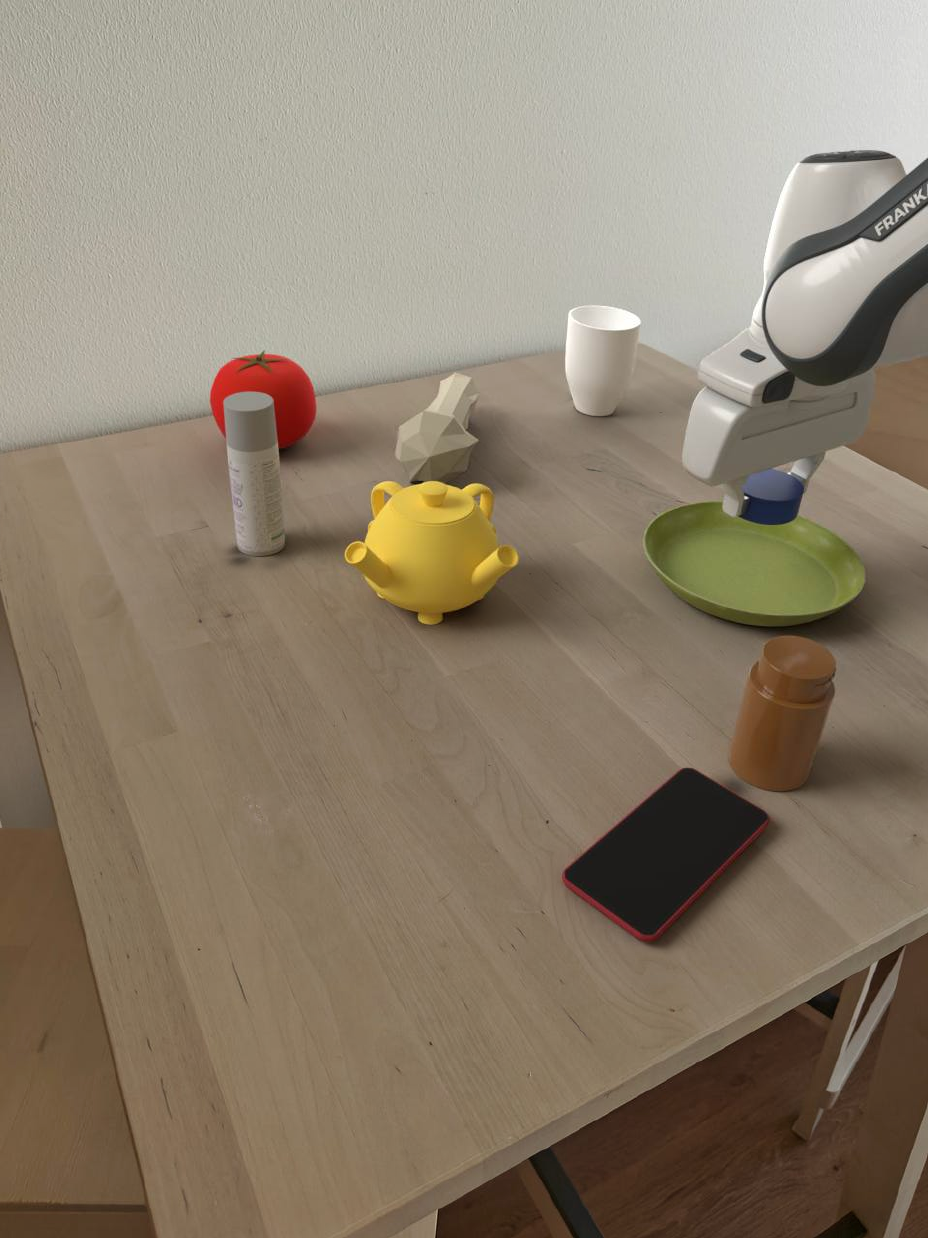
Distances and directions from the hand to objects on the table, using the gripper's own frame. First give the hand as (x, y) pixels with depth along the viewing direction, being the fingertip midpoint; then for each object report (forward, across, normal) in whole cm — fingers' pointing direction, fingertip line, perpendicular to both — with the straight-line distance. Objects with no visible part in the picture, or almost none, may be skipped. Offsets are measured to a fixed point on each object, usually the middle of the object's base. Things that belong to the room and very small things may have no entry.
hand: (763, 502), depth 93 cm
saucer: (+9, 0, 0) cm, 9 cm away
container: (+9, +38, -29) cm, 48 cm away
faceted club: (+9, +10, -38) cm, 40 cm away
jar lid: (-2, 0, 0) cm, 2 cm away
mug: (+9, -14, -40) cm, 43 cm away
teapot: (+9, +28, -12) cm, 32 cm away
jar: (+8, +18, +19) cm, 27 cm away
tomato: (+9, +28, -50) cm, 57 cm away
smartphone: (+8, +30, +22) cm, 39 cm away
